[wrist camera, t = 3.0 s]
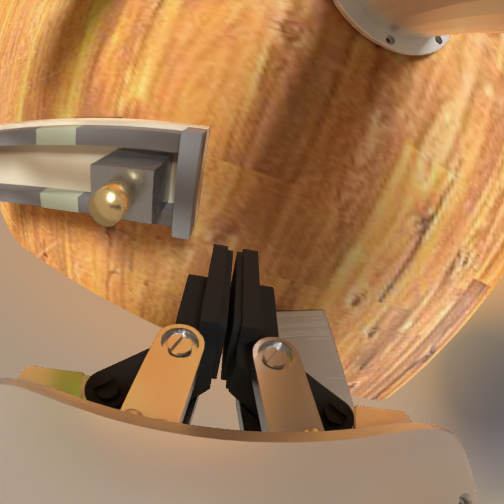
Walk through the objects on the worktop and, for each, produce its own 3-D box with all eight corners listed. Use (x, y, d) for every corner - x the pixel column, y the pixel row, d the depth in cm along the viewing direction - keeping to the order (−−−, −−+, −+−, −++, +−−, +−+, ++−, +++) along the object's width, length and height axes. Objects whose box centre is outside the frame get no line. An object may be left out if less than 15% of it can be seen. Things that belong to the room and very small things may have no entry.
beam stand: (20, 116, 18) (-29, 134, 12) (217, 120, 21) (201, 134, 14) (22, 176, 22) (-21, 205, 16) (205, 197, 25) (188, 239, 18)
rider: (118, 148, 16) (71, 176, 11) (173, 153, 17) (140, 184, 12) (118, 190, 18) (76, 231, 13) (169, 197, 19) (139, 242, 14)
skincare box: (255, 342, 35) (256, 458, 22) (258, 303, 32) (260, 437, 18) (318, 342, 36) (337, 452, 22) (330, 304, 32) (361, 429, 18)
